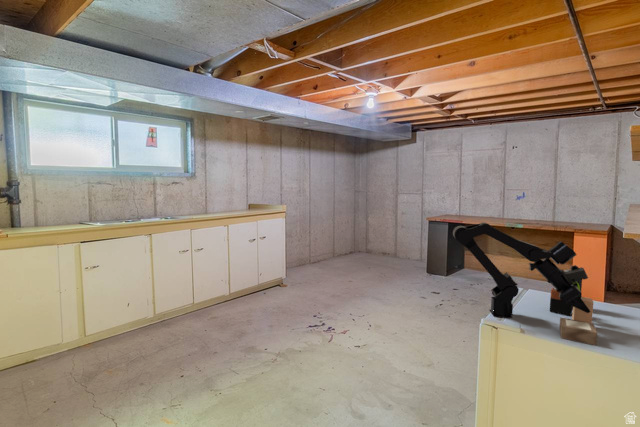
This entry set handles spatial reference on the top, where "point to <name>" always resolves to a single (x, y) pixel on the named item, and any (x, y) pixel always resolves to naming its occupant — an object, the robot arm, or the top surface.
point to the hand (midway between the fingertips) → (587, 308)
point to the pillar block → (581, 314)
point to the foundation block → (578, 331)
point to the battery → (559, 304)
